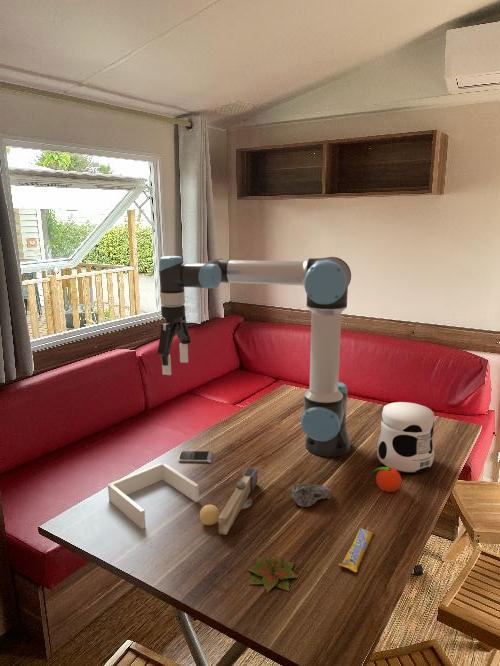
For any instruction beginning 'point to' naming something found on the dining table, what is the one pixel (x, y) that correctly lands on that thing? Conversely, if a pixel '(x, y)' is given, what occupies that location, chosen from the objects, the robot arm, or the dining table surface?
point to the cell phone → (196, 457)
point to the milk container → (406, 437)
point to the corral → (145, 479)
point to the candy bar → (357, 549)
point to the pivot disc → (247, 503)
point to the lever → (237, 499)
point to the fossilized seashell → (309, 494)
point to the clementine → (388, 479)
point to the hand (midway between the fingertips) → (175, 368)
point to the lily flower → (272, 572)
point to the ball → (209, 514)
